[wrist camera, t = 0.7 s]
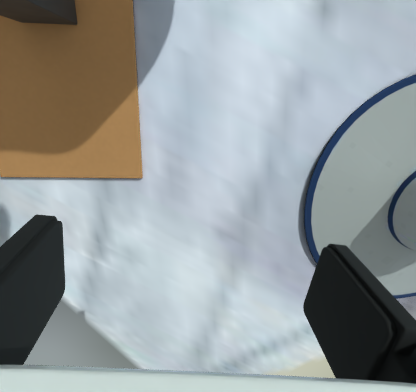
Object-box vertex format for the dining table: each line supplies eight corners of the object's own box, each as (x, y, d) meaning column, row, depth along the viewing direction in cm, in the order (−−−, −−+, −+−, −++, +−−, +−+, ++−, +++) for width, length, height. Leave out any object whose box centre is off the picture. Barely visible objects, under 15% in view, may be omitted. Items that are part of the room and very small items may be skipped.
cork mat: (-52, -53, 29) (-56, -55, 29) (130, -42, 31) (129, -44, 30) (2, 175, 38) (0, 177, 38) (142, 177, 39) (141, 178, 39)
